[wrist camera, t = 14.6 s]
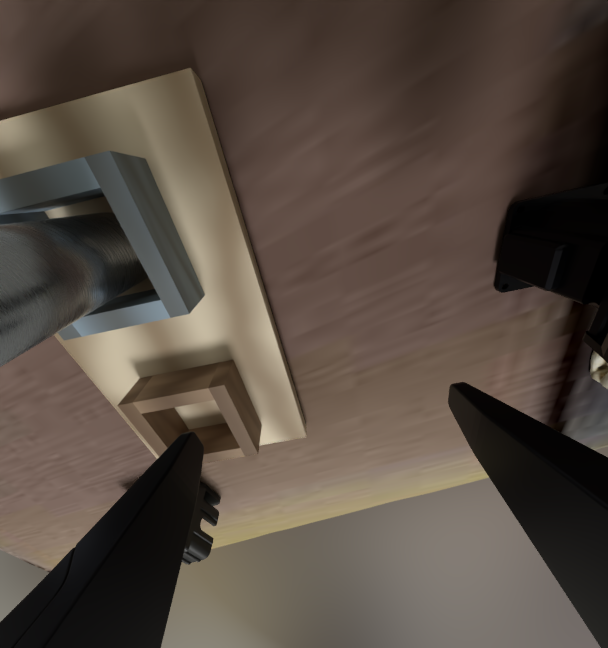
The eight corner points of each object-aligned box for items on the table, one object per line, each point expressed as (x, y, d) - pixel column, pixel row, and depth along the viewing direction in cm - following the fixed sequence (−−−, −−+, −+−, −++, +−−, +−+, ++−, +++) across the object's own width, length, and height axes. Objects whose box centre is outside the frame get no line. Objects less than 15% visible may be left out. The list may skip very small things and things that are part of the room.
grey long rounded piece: (155, 223, 15) (-103, 287, 5) (156, 289, 17) (-27, 423, 7) (75, 202, 14) (-391, 232, 5) (86, 274, 16) (-218, 399, 7)
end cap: (193, 469, 30) (168, 539, 24) (225, 497, 33) (210, 564, 27) (127, 491, 31) (88, 561, 25) (164, 515, 34) (137, 583, 28)
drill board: (200, 80, 13) (160, 31, 9) (305, 424, 26) (308, 465, 22) (-64, 152, 14) (-204, 137, 10) (166, 449, 27) (145, 493, 23)
